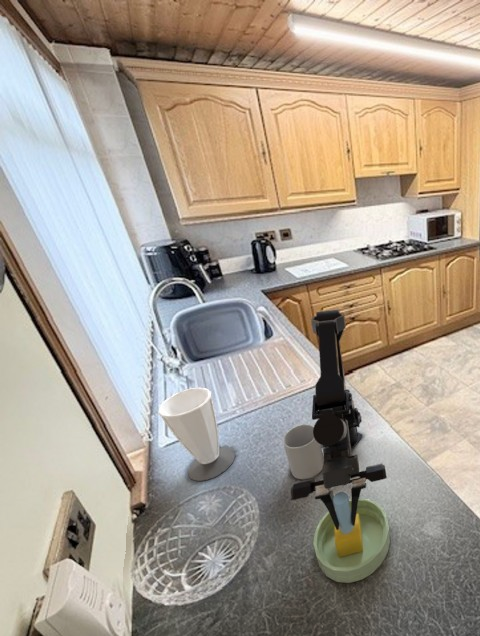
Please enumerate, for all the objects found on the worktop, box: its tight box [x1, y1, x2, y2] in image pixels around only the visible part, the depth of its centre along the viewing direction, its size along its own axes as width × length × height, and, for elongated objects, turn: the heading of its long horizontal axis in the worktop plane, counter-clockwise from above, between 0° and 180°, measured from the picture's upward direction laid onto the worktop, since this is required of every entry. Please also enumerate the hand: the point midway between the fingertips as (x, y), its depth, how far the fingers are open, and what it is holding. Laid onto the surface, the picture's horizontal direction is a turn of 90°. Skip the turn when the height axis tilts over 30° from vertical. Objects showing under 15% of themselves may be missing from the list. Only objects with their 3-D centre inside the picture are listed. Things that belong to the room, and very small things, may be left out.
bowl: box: [313, 497, 391, 584], centre depth 73 cm, size 15×15×4 cm
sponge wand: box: [333, 491, 363, 557], centre depth 70 cm, size 5×5×14 cm
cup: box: [157, 386, 236, 482], centre depth 90 cm, size 12×12×22 cm
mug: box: [282, 423, 324, 481], centre depth 92 cm, size 12×8×11 cm
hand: (345, 527), depth 69 cm, fingers closed on sponge wand, 3 cm apart
